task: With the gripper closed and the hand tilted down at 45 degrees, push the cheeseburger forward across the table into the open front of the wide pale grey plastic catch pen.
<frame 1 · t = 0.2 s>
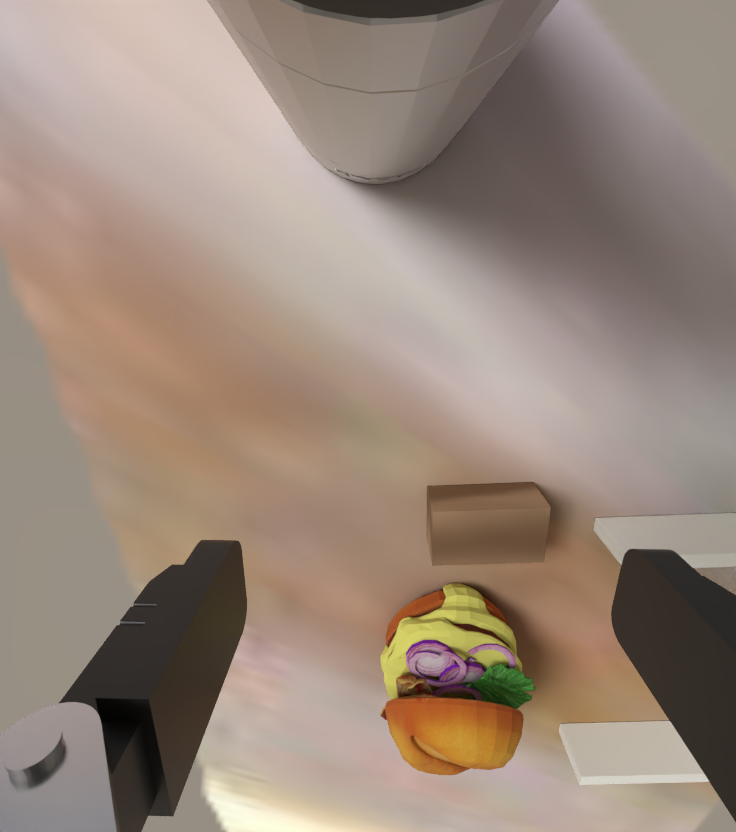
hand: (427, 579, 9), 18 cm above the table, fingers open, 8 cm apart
cheeseburger: (445, 633, 34), on the table
cardboard carton: (478, 509, 29), on the table
catch pen: (653, 635, 33), on the table
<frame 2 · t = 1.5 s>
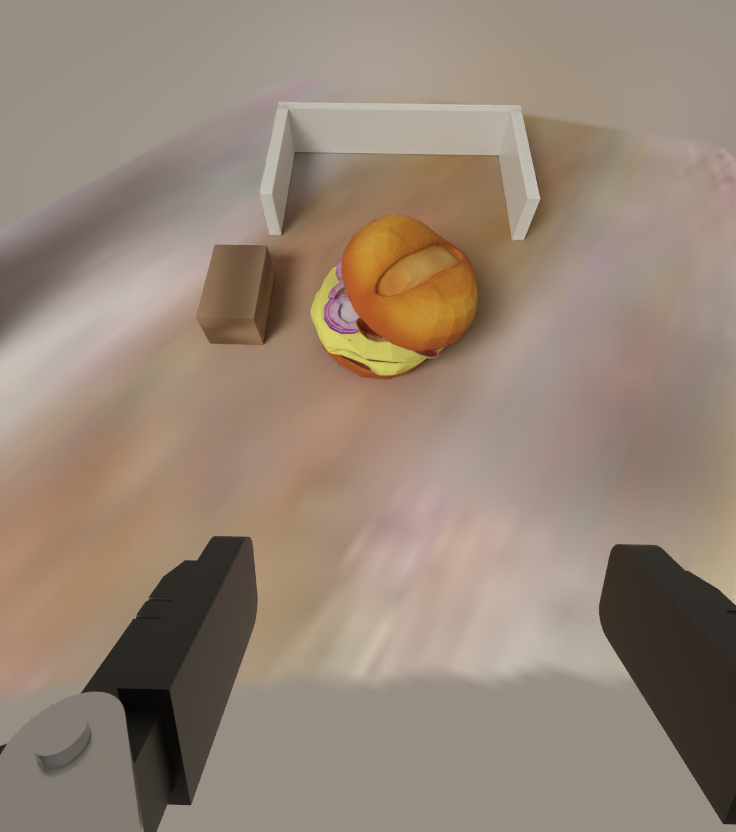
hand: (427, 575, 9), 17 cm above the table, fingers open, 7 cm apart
cheeseburger: (387, 333, 33), on the table
cardboard carton: (243, 307, 34), on the table
catch pen: (396, 191, 40), on the table
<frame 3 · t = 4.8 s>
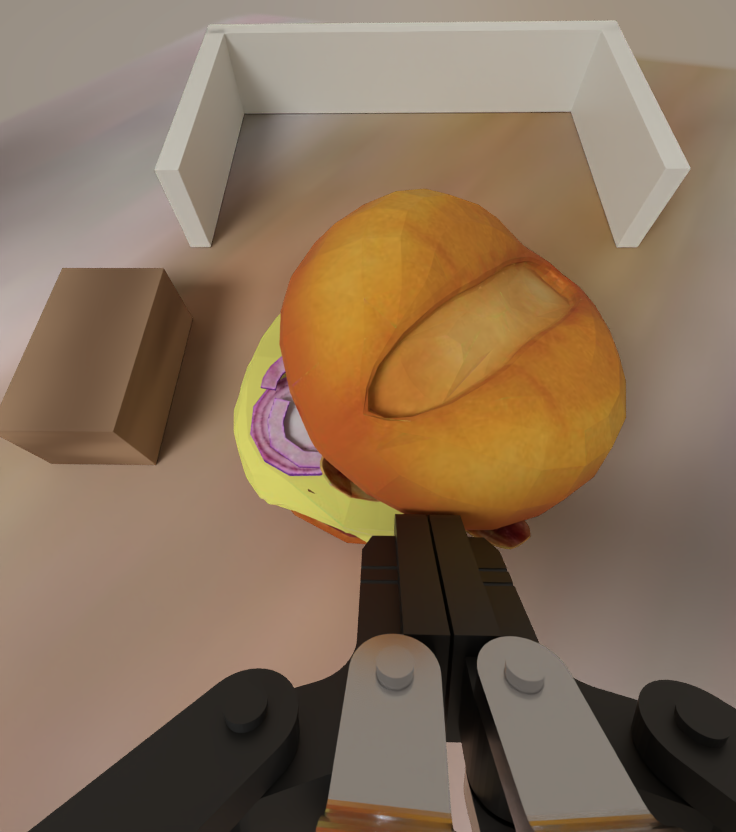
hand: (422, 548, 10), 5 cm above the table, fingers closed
cheeseburger: (396, 431, 17), on the table, touching gripper
cardboard carton: (128, 384, 18), on the table
catch pen: (408, 169, 24), on the table
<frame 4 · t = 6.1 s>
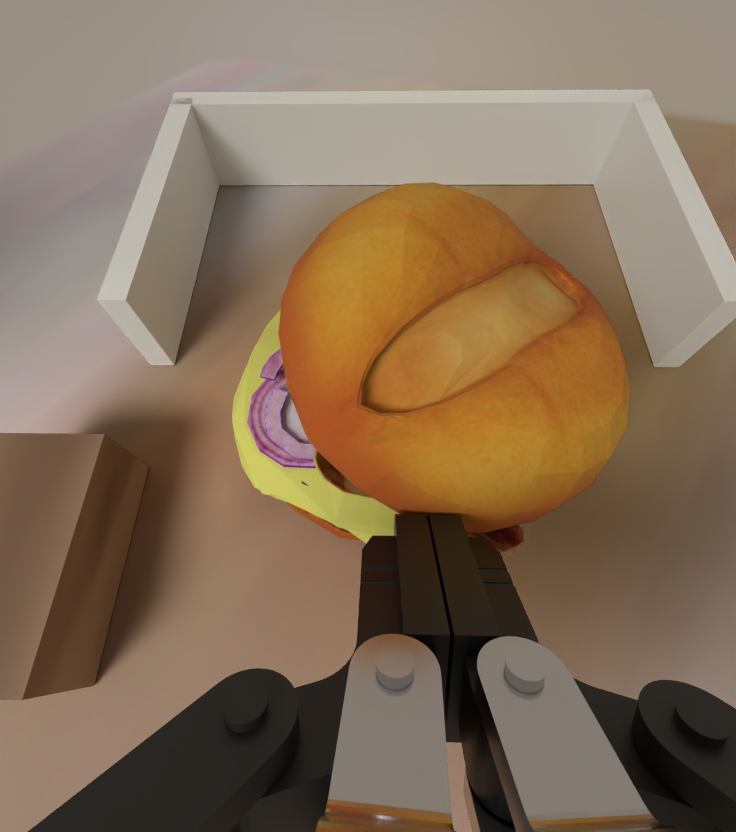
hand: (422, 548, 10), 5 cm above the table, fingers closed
cheeseburger: (398, 428, 17), on the table, touching gripper
cardboard carton: (66, 563, 15), on the table
catch pen: (408, 260, 21), on the table
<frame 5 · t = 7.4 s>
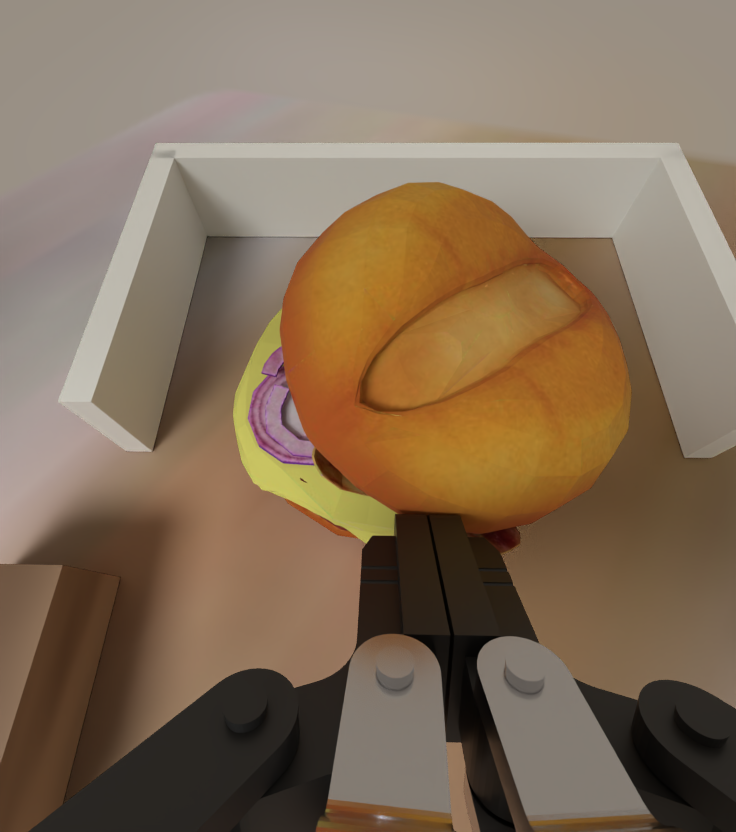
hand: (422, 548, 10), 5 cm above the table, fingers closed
cheeseburger: (399, 428, 17), on the table, touching gripper
cardboard carton: (22, 700, 13), on the table
catch pen: (411, 326, 19), on the table
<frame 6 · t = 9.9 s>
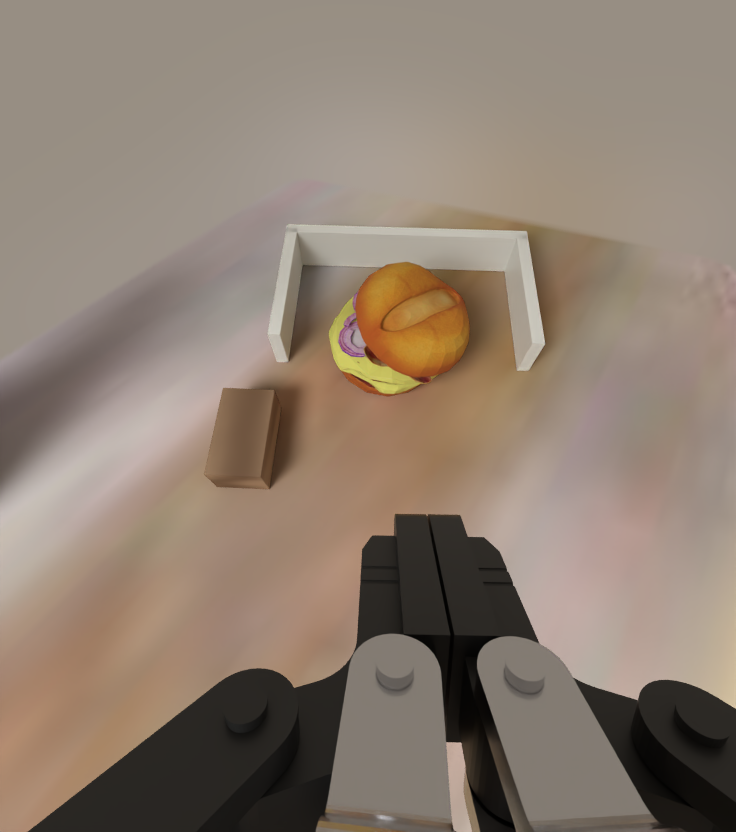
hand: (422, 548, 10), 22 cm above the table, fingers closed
cheeseburger: (393, 355, 39), on the table
cardboard carton: (250, 445, 35), on the table
catch pen: (402, 312, 40), on the table
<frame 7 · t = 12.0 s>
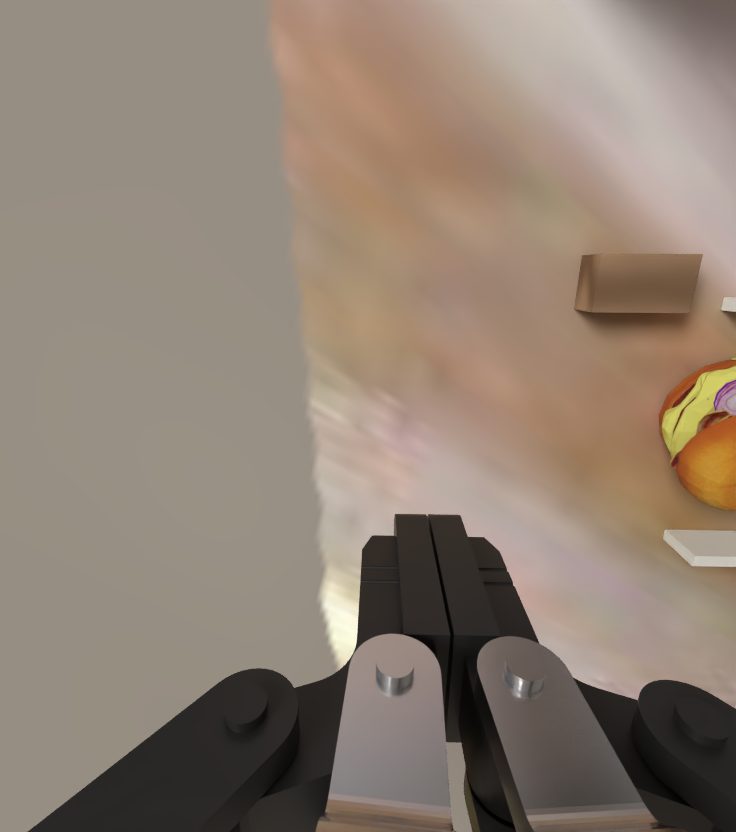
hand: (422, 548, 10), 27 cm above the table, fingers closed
cheeseburger: (706, 418, 37), on the table
cardboard carton: (623, 283, 34), on the table
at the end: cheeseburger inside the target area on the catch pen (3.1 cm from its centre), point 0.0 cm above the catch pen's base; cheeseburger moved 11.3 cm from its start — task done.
